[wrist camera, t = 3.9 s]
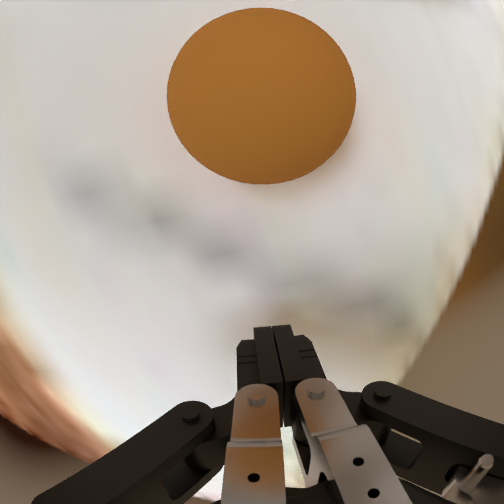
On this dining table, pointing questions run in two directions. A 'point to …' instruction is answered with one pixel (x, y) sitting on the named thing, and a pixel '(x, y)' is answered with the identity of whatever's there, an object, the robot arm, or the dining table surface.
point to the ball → (261, 96)
